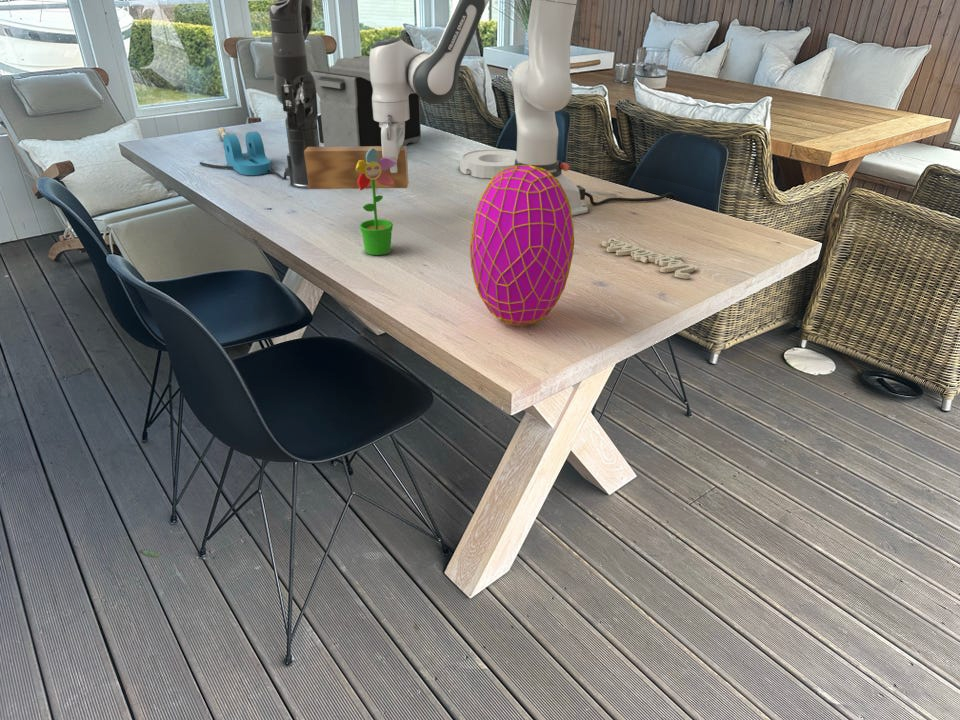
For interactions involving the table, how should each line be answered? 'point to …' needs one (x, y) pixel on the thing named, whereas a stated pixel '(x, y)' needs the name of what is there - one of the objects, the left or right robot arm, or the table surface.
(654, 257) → the decorative sign
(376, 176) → the potted flower
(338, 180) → the bar
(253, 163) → the camera mount
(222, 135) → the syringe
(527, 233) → the decorative egg
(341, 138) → the electronic device
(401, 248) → the table surface
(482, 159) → the ashtray
